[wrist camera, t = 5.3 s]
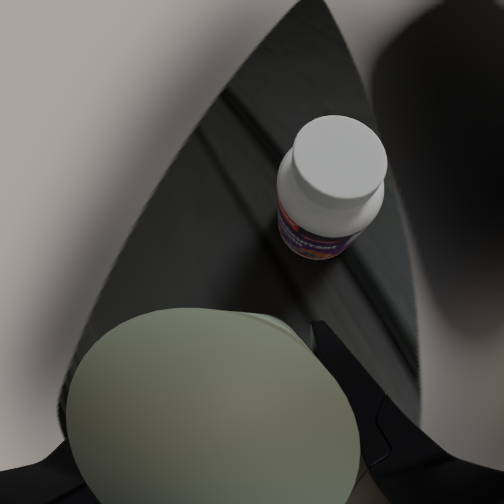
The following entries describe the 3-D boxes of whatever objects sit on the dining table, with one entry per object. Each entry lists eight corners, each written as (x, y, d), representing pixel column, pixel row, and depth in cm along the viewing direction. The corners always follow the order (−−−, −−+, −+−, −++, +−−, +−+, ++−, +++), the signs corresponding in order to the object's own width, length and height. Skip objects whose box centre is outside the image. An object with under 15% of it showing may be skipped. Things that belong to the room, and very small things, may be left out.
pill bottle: (262, 231, 21) (247, 166, 12) (305, 173, 22) (317, 84, 12) (327, 277, 20) (366, 244, 11) (367, 215, 21) (421, 146, 11)
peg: (304, 390, 15) (354, 551, 3) (221, 397, 15) (102, 538, 3) (297, 309, 16) (350, 290, 4) (213, 317, 16) (51, 313, 4)
